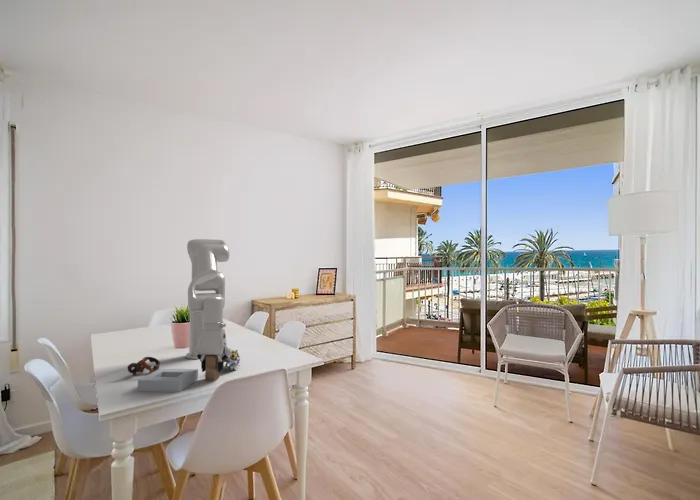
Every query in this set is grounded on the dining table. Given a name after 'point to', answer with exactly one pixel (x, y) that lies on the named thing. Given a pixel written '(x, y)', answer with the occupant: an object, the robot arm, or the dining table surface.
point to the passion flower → (232, 360)
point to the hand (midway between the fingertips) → (212, 370)
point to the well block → (168, 380)
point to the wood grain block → (211, 368)
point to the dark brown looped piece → (143, 366)
